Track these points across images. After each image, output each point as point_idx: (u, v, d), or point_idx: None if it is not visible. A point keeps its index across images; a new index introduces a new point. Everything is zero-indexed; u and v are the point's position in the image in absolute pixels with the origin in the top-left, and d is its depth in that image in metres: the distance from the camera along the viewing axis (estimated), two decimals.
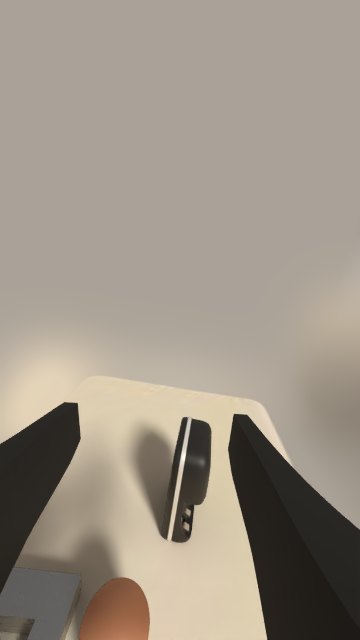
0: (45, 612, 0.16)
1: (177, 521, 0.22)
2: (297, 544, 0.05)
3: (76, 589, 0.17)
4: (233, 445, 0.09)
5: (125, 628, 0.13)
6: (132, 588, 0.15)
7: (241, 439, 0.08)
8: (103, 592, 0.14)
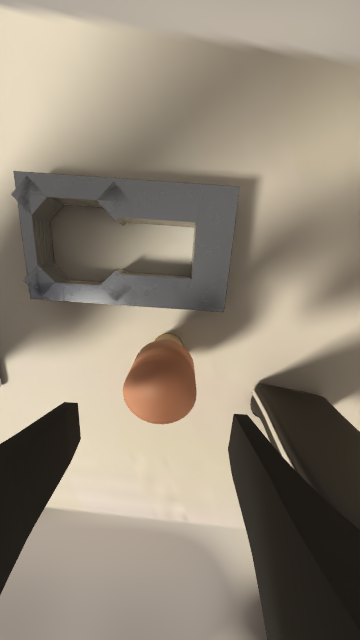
0: (196, 286, 0.15)
1: (264, 420, 0.16)
2: (297, 544, 0.05)
3: (212, 310, 0.15)
4: (233, 445, 0.09)
5: (158, 403, 0.12)
6: (187, 405, 0.12)
7: (241, 439, 0.08)
8: (183, 376, 0.12)
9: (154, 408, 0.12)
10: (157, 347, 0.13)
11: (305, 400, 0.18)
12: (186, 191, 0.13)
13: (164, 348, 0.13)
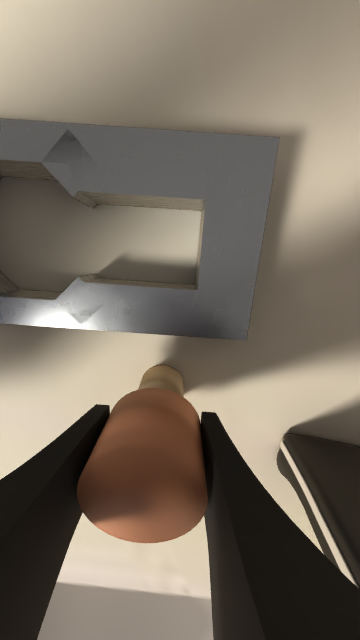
0: (204, 302, 0.10)
1: (304, 498, 0.11)
2: (231, 539, 0.05)
3: None
4: None
5: (140, 514, 0.07)
6: (190, 517, 0.07)
7: (204, 437, 0.08)
8: (185, 472, 0.06)
9: (133, 520, 0.07)
10: (141, 406, 0.08)
11: (358, 461, 0.12)
12: (189, 146, 0.08)
13: (152, 409, 0.08)
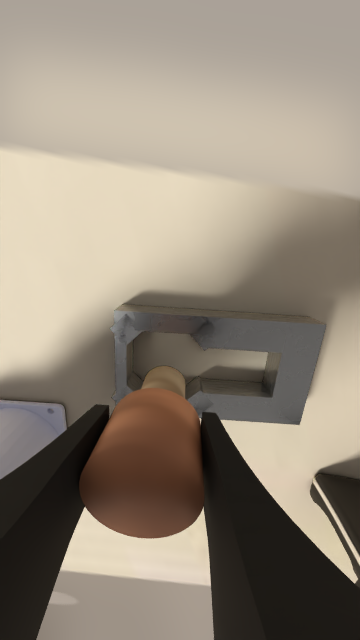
0: (275, 404, 0.16)
1: (333, 521, 0.17)
2: (232, 539, 0.05)
3: None
4: None
5: (141, 509, 0.07)
6: (190, 511, 0.07)
7: (205, 436, 0.08)
8: (178, 467, 0.07)
9: (136, 516, 0.07)
10: (136, 406, 0.08)
11: None
12: (275, 327, 0.14)
13: (147, 408, 0.08)
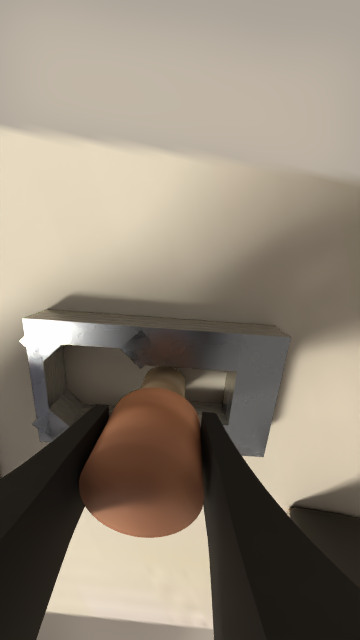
0: (233, 433, 0.13)
1: None
2: (232, 540, 0.05)
3: None
4: None
5: (140, 509, 0.07)
6: (190, 510, 0.07)
7: (205, 437, 0.08)
8: (178, 466, 0.07)
9: (135, 516, 0.07)
10: (136, 405, 0.08)
11: (349, 535, 0.16)
12: (227, 341, 0.11)
13: (147, 407, 0.08)
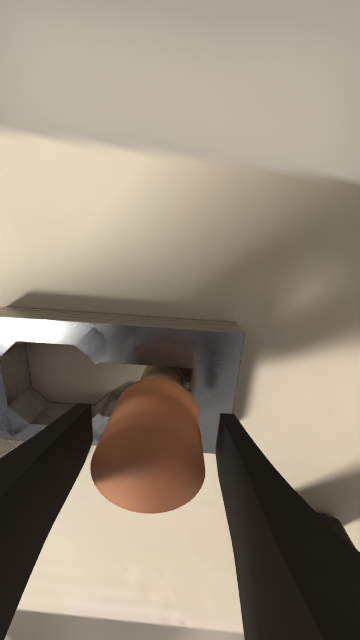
0: None
1: None
2: (270, 543, 0.05)
3: None
4: (219, 444, 0.09)
5: (148, 486, 0.08)
6: (192, 485, 0.08)
7: (226, 438, 0.08)
8: (182, 445, 0.07)
9: (143, 493, 0.08)
10: (140, 394, 0.09)
11: None
12: (181, 337, 0.11)
13: (150, 395, 0.09)
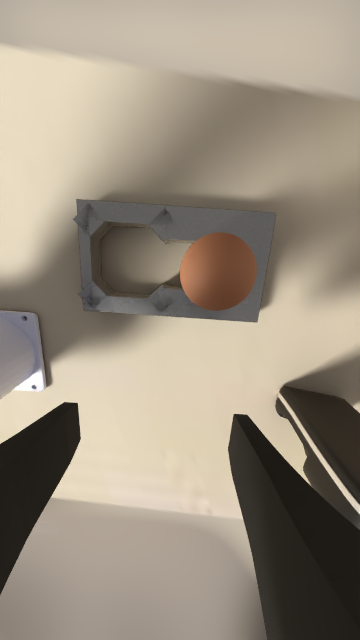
0: None
1: (292, 420, 0.18)
2: (297, 544, 0.05)
3: None
4: (233, 445, 0.09)
5: (216, 285, 0.12)
6: (247, 284, 0.12)
7: (241, 439, 0.08)
8: (243, 248, 0.11)
9: (213, 292, 0.12)
10: None
11: (328, 402, 0.19)
12: (228, 216, 0.15)
13: None
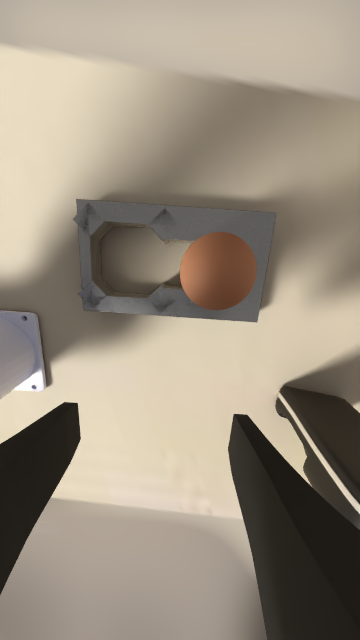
0: None
1: (292, 420, 0.18)
2: (297, 544, 0.05)
3: None
4: (233, 445, 0.09)
5: (216, 285, 0.12)
6: (247, 284, 0.12)
7: (241, 439, 0.08)
8: (243, 248, 0.11)
9: (213, 291, 0.12)
10: None
11: (327, 402, 0.19)
12: (228, 216, 0.15)
13: None
